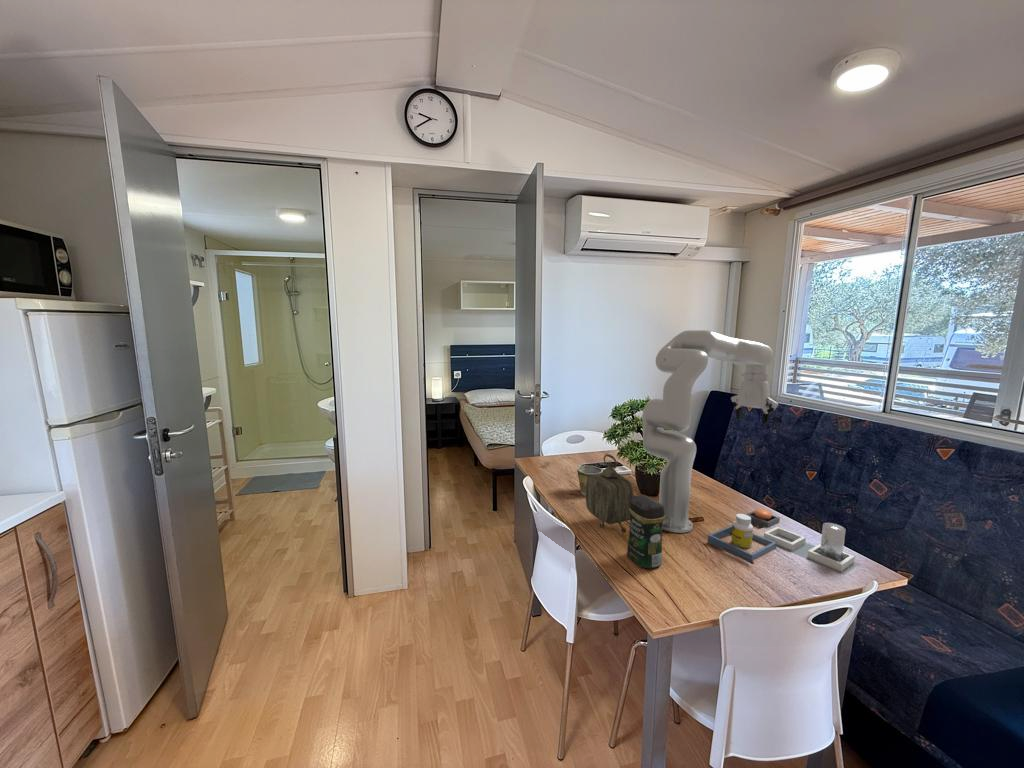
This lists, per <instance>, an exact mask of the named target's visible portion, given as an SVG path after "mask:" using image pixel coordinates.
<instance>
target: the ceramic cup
mask: <svg viewBox="0 0 1024 768" xmlns="http://www.w3.org/2000/svg"><path fill="white" fill-rule="evenodd" d="M604 469H605V468H602V467H599V466H595V465H580V466H578V467H577V469H576V471H577V477H578V483H579V488H580V489H579V490H580V494H581V495H582V496H584V497H586V485H587V479H588V477H589V476H590V475H591V474H597V473H602V472H603V470H604Z"/></svg>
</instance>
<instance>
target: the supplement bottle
mask: <svg viewBox="0 0 1024 768" xmlns="http://www.w3.org/2000/svg"><path fill="white" fill-rule="evenodd" d="M732 525H733V528H732V534H731V543H732V545H734V546H736V547H738V548H740V549H751V548H752V545H753V539H752V535H753V532H754V526H753V524H751V517H750V516H748V515H746V514H744V513H737V514H735V520H733V523H732Z"/></svg>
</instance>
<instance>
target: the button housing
mask: <svg viewBox="0 0 1024 768" xmlns="http://www.w3.org/2000/svg"><path fill="white" fill-rule="evenodd" d="M754 512H755V510H753V511H751V512H749V513H746V514H745V515H748V516H750V517H751V523H750V524H752V525H754V526H757V527H759V528H762V529H764V528H770V527H772V526H774V525H776V524H778V523H780V520H781V519H780V517H778V516H776V515H774V514H772V516H771V519H761V518H758V517H756V516H755V515H754Z"/></svg>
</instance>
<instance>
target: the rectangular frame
mask: <svg viewBox="0 0 1024 768" xmlns="http://www.w3.org/2000/svg"><path fill="white" fill-rule="evenodd" d="M732 528H733V524H731V525H729V526H727V527H726V526H725V527H724V528H722V529H719V530H716V531H714V532H712V533H710V534H708V535H707V543H708V544H710V545H712V546H714V547H716V548H718V549H720V550H722V551H724V552H727V553H729V554H731V555H732V556H735V557H737V558H739V559H741V560H743V561H745V562H747V563H749V564H753V563H755V562H754V560H756V559H758V558H760V557H761V556H763V555H765V554H767V553H769V552H771V551H773V550H775V549H777V546H776V544H777V543H775V542H773V541H771V540H768V539H766V538H763V537H762V536H761V535H758V534H756V533H755V532H754V533H753V535H752V540H755V541H757V542H759V543H761V544H764V545H765V546H763V547H762V548H759V549H758V550H756V551H753V552H749V551H746V550H744V549H743V548H741V547H738V546H736V545H734V544H731V543H729V542H727V541H725V540H722V539H723V538H725V537H727V536H729V535H730V536H731V535H732Z"/></svg>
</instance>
